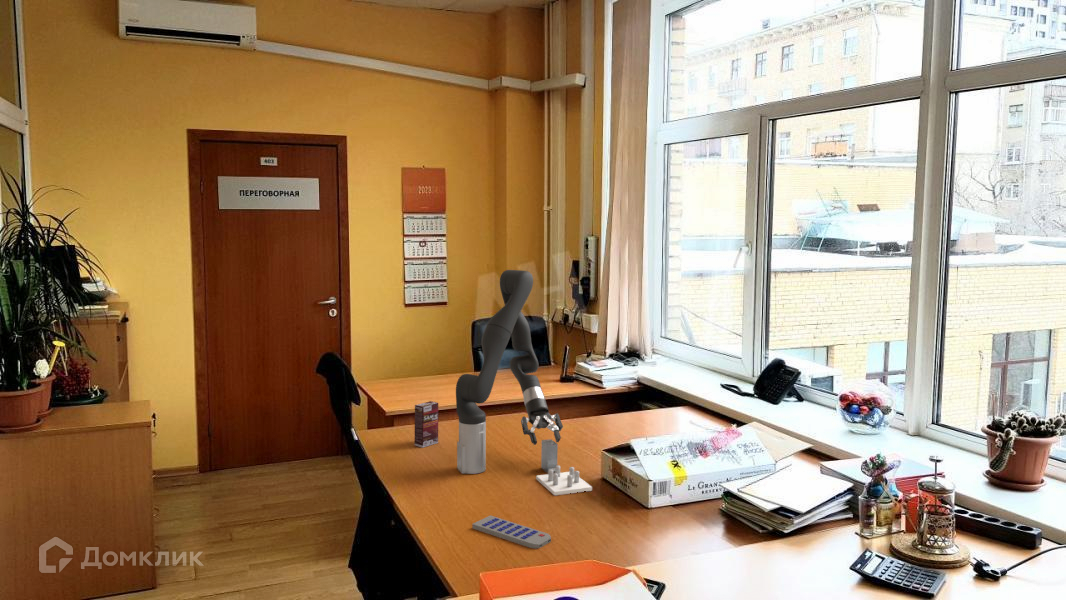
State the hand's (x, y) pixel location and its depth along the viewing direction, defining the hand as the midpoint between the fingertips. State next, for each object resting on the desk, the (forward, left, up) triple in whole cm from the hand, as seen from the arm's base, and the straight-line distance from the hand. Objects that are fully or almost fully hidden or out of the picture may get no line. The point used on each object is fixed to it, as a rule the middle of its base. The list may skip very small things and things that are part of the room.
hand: (547, 442), depth 270 cm
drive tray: (-1, -18, -9) cm, 20 cm away
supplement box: (-33, +40, -9) cm, 53 cm away
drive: (0, -3, -9) cm, 9 cm away
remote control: (-30, -48, -10) cm, 58 cm away
